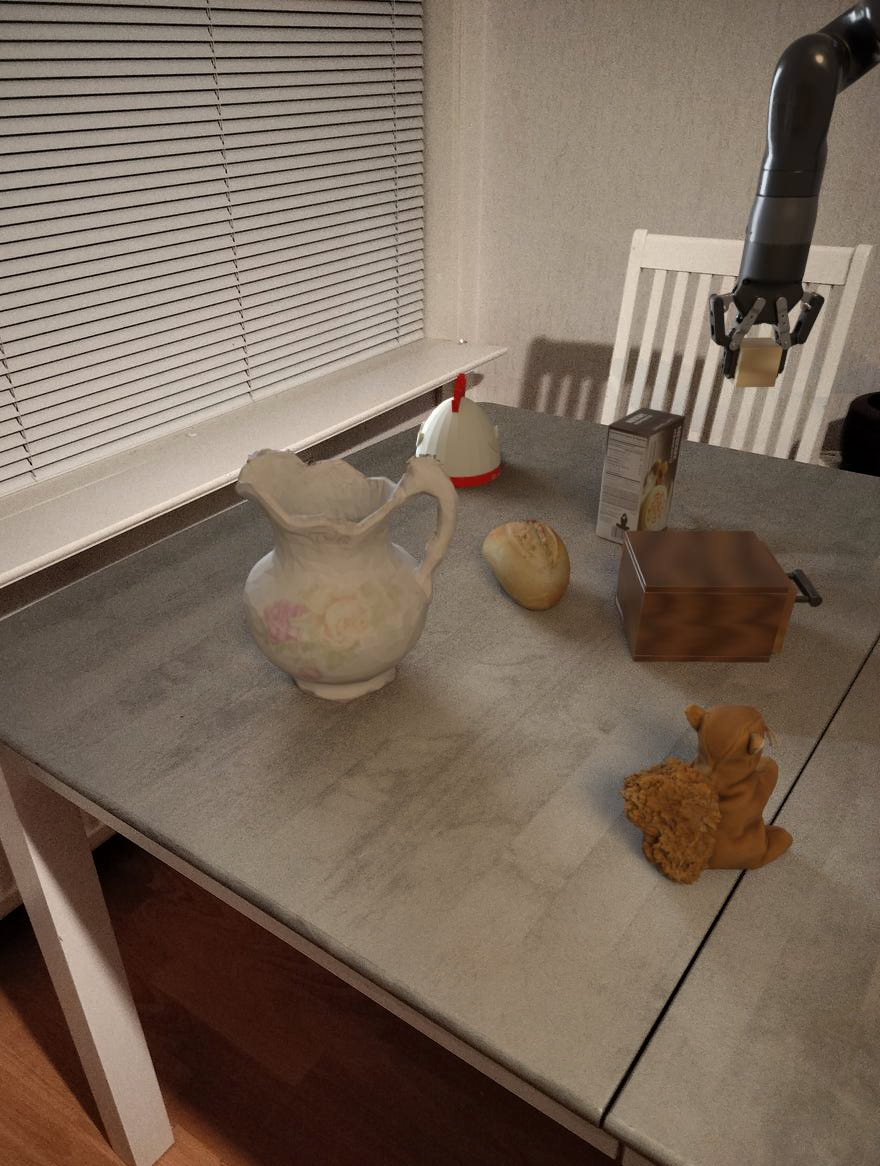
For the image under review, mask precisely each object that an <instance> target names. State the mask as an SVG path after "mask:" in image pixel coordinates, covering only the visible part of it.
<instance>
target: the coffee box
mask: <svg viewBox="0 0 880 1166" xmlns="http://www.w3.org/2000/svg"><path fill="white" fill-rule="evenodd" d="M685 420H686V416H685V415H682V414H681V415H680V414H676V413H672V412H671V413H670V412H667V411H663V410H657V409H654V408H649V407H640V408H638V409H636V410H635V411H633V412H631V413H629V414H627V415H625V416H623V417H621V418H619V419H618V420H616V421H614V422H611V423H609V424H608V425H607V433H606V434H607V435H606V440H605V442H606V443H605V452H604V459H603V468H602V477H601V487H600V495H599V504H598V514H597V521H596V528H595V529H596V530H595V535H596V536H597V537H599V538H602V539H605V540H608V541H611V542H614V543H616V544H617V543H618V544H620V545H623V540H624V533H625V531H663V529H665V528H666V527H667V526H668V523H669V517H670V510H671V505H672V498H673V493H674V486H675V481H676V475H677V467H678V462H679V457H680V450H681V444H682V438H683V433H684V425H685Z"/></svg>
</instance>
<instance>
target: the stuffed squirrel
mask: <svg viewBox="0 0 880 1166" xmlns="http://www.w3.org/2000/svg"><path fill="white" fill-rule="evenodd" d="M684 715H685V717H686V720H687V721H688V723H689V725H690V727H691V728H692V729H693V730H694V731H695V732H696V734H697V735H696V737H697V743H696V753H697V754H696V755H695V756H694V758H693V759H691V761H690V762H689V763H686V762H684V760H682V759H679V758H678V759H676V758H675V757H673V756H671V757H667V758H665V761H666V762H660V763H659V765H657V764H654V765H652V766H651V767H650V769H649V768H647V769H640V770H639V771H638V772H635V773H633V774H631V775H628V776H623V779H624V780H622V783H623V787H622V788H623V789H619V790H618V793H619V794H620V795H622V796H620V797H619V799H624V802H623V805H624V806H623V807H622V809H623V810H624V815H625V817H626V820H627V821H628V822H630V823H631V824H632V825H633V826H634V827H636V828H638V829H640V830H641V832H642V840H641V842H640V843H641V851H642V855H643V856H644V859H645V860H646V861H647V863H650V864H651V865H652V866H655V867H656V870H657V871H658V873H659V874H661V875H662V876H665V877H666V878H668V879H669V880H670V882H672V883H677V884H679V885H683V884H684V885H686V886H688V885H689V886H690V885H691V886H693V885H694V883H697V882H699V879H701V873H702V872H705V871H709V870H710V871H713V870H739V871H740V870H757V869H761V868H763V867H765V866H766V865H768V864H770V863H772V862H774V861H775V860H777V859H778V858H780V857H781V856H783V855H784V854H785V853H786V852H787V851H788V850H789V848H791V847H792V845H793V843H794V839H793V835H792V834H791V833H790V832H789V831H787V829H785V828H784V827H781V826H777V825H772V824H765V820H764V817H763V813H764V810H765V808H766V806H767V804H768V802H769V800H770V798H771V796H772V794H773V793H774V790H775V789H776V785H777V783H778V780H779V765H778V764H777V761H776V760H775V759H773V758H771V757H769V756H767V755H766V756H762V754H763V752H764V746H765V735H766V737H767V739H768V746H769V747H772V746H773V744H774V743H773V741H772V737H773V739H774V741H775V744H776V746H777V748H780V747H781V743H780V742H779V740H778V738H777V736H776V735H775V733H774V731H773V730H771V728H770V727H769V726H768V725H767V724H766V722H765V718H764V717H763V714H762V713H761V712H760V710H758V709H756V708H755V707H754V706H751V705H747V704H738V703H737V704H735V703H734V704H726V705H716V706H714V707H711V708H710V709H708V710H707V711H705V710H704V708H702V707H700V706H699V705H697V704H694V703H692V704H691V703H690V704H688V705H687V707H685V708H684ZM771 735H772V736H771Z"/></svg>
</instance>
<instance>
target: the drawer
mask: <svg viewBox="0 0 880 1166" xmlns="http://www.w3.org/2000/svg"><path fill="white" fill-rule="evenodd" d="M759 540H760V539H759ZM760 542H761V544H762V545H763V547H764V548H765V550H766V551H767V553H768V554H769V556H770V557H771V559H772V560H773V562H774V563H775V565H776V566H777V568H778V569H779V571H780V573H781V574H782V576H783V577H784V579H785V580H786V582H787V583H788V585H789V586H790V587H789V591H788V595H787V598H786V602H785V606H784V609H783V613H782V617H781V620H780V624H779V628H778V631H777V635H776V639H775V642H774V646H773V650H772V653H781V652H782V648H783V645H784V641H785V638H786V634H787V631H788V627H789V623H790V620H791V617H792V612H793V609H794V605H795V604H808V605H809V606H810V607H811V608H816V607H819V606H821V605H822V604H823V597H822V596H821V595H820V593H819V592H818V590H817V589H816V588H815V586H814V584H813V583H812V581H811V580H810V579H809V578H808V577H809V576H807V574H806V573H805V572H804V570H803V569H800V568H797V569H793V571H792V572H786V571H785V570H784V569H783V567H782V566H781V564H780V562H779V561H778V560H777V558H776V556H775V555H774V554H773V552H772V550H771V548H770V547H769V546H768V544H767V543H766V541H765V540H763V539H761V540H760ZM794 584H795V585H794ZM796 587H797V588H798V589H797V588H796ZM798 590H799V592H800V593H801V594H802V595H798Z"/></svg>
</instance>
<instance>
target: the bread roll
mask: <svg viewBox="0 0 880 1166" xmlns="http://www.w3.org/2000/svg"><path fill="white" fill-rule="evenodd" d="M481 553H482V557H483V559H484V562H485V564H486V565H487V566H488V568H489V569H490V570H491V571H492V573H493V575H494V576H495V577H496V579H497V581H498V582H499V583H500V585H501V586H502V588H503V590H504V591H505V592H506V594H508V595H509V596H510V597H511V599H513V600H514V602H516V603H517V604H518V605H519V606H521V607H523V608H525V609H529V610H533V611H544V610H548V609H551V608H552V607H554V606H556V605H557V604H558V603H559V602H560V601H561V599H562V598H563V597H564V595H565V593H566V591H567V590H568V587H569V585H570V578H571V577H570V576H571V562H570V556H569V552H568V549H567V547H566V544H565V542H564V541H563V539H562V538H561V536H560V535H559V534H558V532H556V530H554V528H553V527H551V526H550V525H549V524H547V523H546V522H544V521H542V520H536V519H531V518H530V519H526V520H525V521H523V522H522V521H520V520H517V521H512V522H508V523H504V524H502V525H500V526H497V527H495V528H493V529H492V530H490V532H489V533H488V535H487V536H486V538H485V540H484V541H483V544H482V550H481Z"/></svg>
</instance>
